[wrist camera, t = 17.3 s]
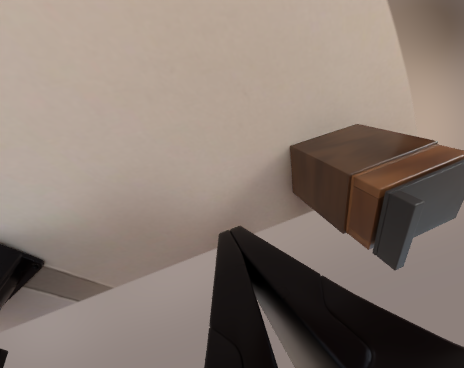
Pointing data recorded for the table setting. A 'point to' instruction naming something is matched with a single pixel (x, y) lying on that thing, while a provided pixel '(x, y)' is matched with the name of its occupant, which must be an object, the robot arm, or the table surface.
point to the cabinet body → (343, 165)
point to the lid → (417, 211)
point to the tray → (390, 187)
